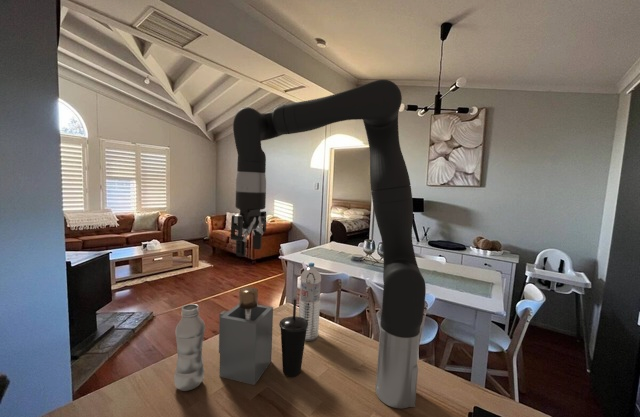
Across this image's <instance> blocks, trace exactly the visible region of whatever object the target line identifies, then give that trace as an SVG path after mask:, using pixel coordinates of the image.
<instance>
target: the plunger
mask: <svg viewBox="0 0 640 417" xmlns="http://www.w3.org/2000/svg"><path fill="white" fill-rule="evenodd" d="M238 293H239V294H238V304H239V307H240V308H242V309H245V319H246V320H251V309H252V308H255V307H257V305H259V304H258V302H259V301H258V298H259V290H258V288H257V287H251V286H250V287H249V286H247V287H246V286H245V287H243V288H240V289H239V290H238Z"/></svg>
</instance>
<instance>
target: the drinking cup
mask: <svg viewBox="0 0 640 417" xmlns="http://www.w3.org/2000/svg"><path fill="white" fill-rule="evenodd" d="M292 309H293V310H292V316H287V317H284V318H282V319H281V320H280V321H279V327H280V340H281V341H280V342H281V356H282V357H281V359H282V360H281V361H282V373H283V375H284V376H286V377H289V378H294V377H297V376H299V375H300V374H301V371H302V366H303V365H302V364H303V357H304V350H305V345H306V344H305V342H306V341H305V337H306V330H307V327H308V321H307V320H306V319H304V318H302V317H299V316H298V315H297V314H296V313H297V312H296V310H297V299H293V308H292ZM296 315H297V316H296Z"/></svg>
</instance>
